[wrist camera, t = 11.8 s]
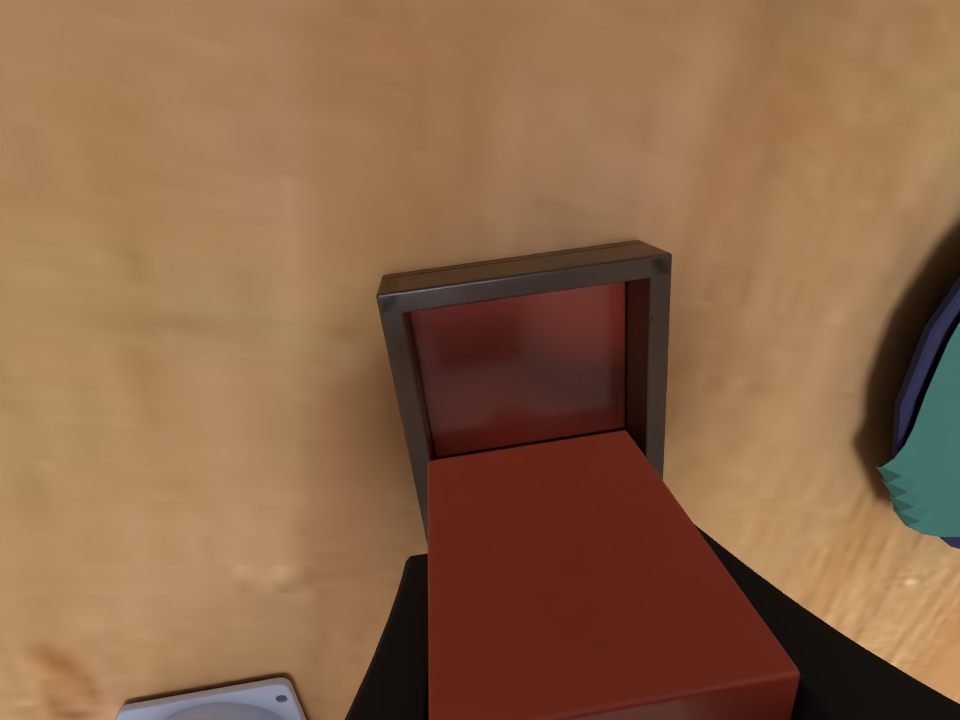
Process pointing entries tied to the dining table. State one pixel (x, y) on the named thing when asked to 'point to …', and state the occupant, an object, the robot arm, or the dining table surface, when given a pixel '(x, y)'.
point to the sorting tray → (529, 352)
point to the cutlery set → (930, 430)
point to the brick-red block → (585, 595)
